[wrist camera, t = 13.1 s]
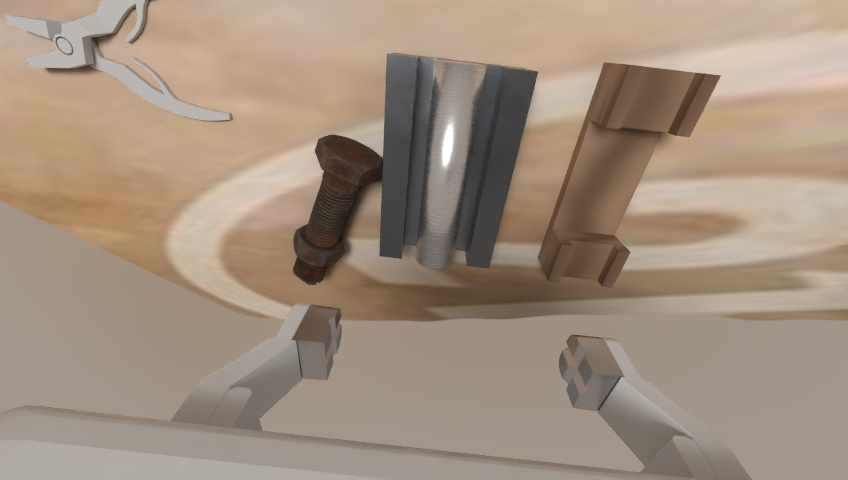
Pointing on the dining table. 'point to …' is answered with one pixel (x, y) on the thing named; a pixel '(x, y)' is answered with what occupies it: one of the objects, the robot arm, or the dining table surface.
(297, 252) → the bolt
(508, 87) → the v block
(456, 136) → the axle
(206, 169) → the dining table surface
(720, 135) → the dining table surface
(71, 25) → the pliers
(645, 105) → the beam
